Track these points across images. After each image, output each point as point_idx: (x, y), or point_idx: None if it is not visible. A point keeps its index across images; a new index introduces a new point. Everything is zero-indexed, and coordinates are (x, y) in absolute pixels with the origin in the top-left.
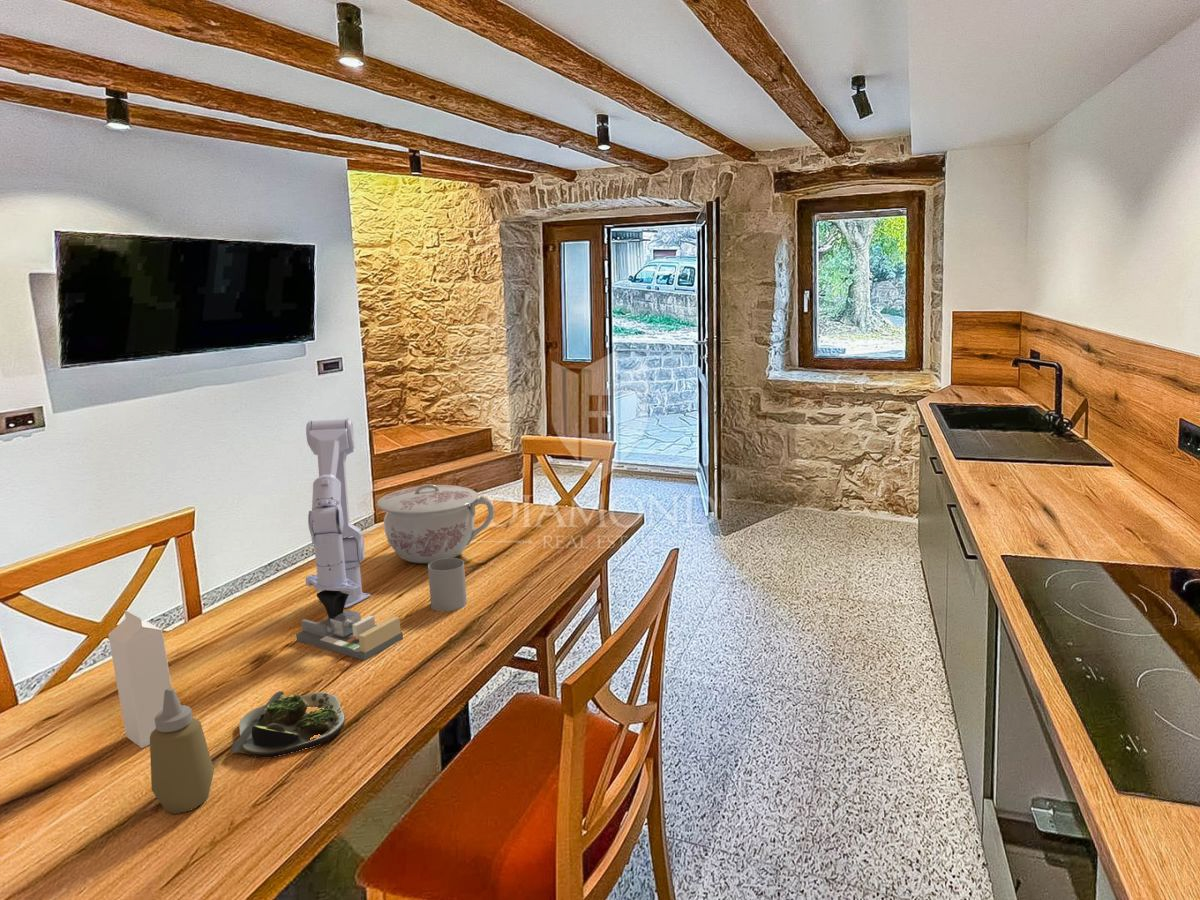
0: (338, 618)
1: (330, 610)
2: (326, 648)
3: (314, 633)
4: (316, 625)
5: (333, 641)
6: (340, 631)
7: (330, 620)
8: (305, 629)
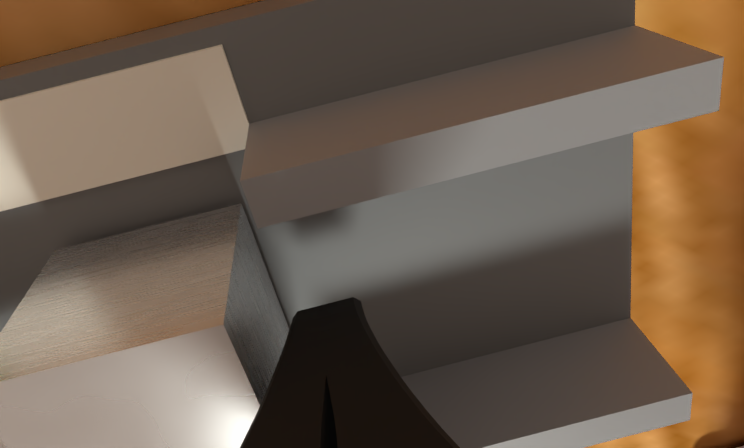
0: (143, 400)
1: (295, 441)
2: (109, 41)
3: (430, 80)
4: (397, 134)
5: (47, 134)
6: (75, 277)
7: (224, 307)
8: (594, 46)
